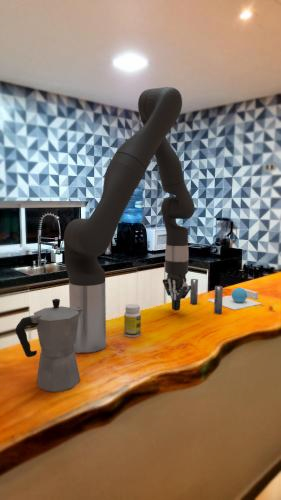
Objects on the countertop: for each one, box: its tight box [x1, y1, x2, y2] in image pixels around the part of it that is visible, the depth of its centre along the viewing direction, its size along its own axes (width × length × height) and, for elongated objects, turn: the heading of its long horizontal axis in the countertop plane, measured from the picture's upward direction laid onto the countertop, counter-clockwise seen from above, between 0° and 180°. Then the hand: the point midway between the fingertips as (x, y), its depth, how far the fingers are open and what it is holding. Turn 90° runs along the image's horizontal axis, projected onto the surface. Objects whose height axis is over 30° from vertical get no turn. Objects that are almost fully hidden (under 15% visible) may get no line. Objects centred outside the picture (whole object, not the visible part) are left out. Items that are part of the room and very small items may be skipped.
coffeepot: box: [15, 298, 84, 393], centre depth 76 cm, size 15×9×18 cm, turn 134°
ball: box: [231, 287, 248, 303], centre depth 136 cm, size 6×6×6 cm
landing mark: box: [206, 294, 263, 311], centre depth 136 cm, size 14×14×1 cm
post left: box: [189, 278, 199, 306], centre depth 133 cm, size 3×3×9 cm
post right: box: [213, 285, 224, 315], centre depth 123 cm, size 3×3×9 cm
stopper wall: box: [241, 287, 259, 300], centre depth 144 cm, size 2×9×2 cm, turn 32°
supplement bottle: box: [123, 303, 142, 338], centre depth 104 cm, size 5×5×8 cm
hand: (175, 309), depth 122 cm, fingers closed
